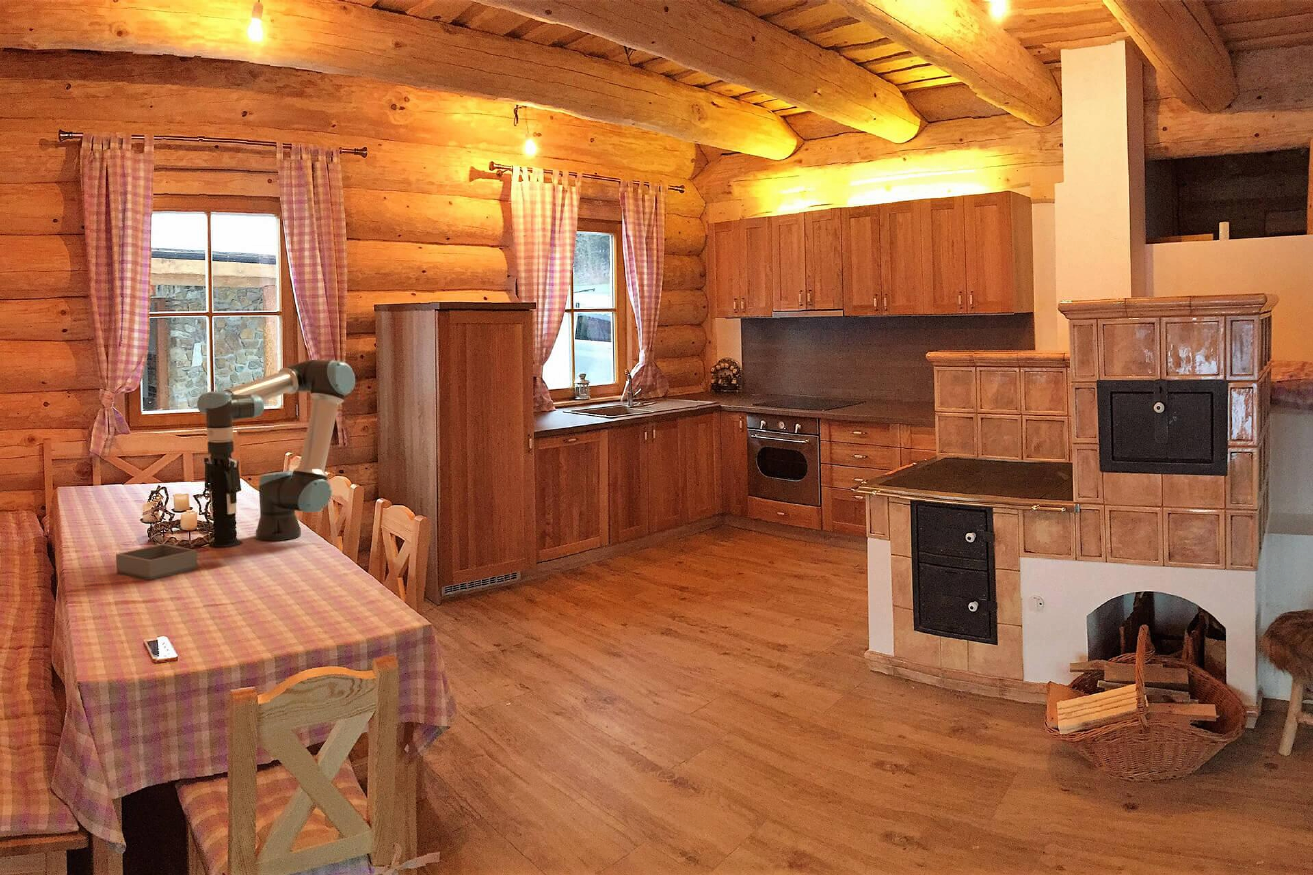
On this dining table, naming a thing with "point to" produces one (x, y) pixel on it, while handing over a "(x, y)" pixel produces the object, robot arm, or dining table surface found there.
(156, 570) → the box
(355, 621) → the dining table surface
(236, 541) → the handle grip
